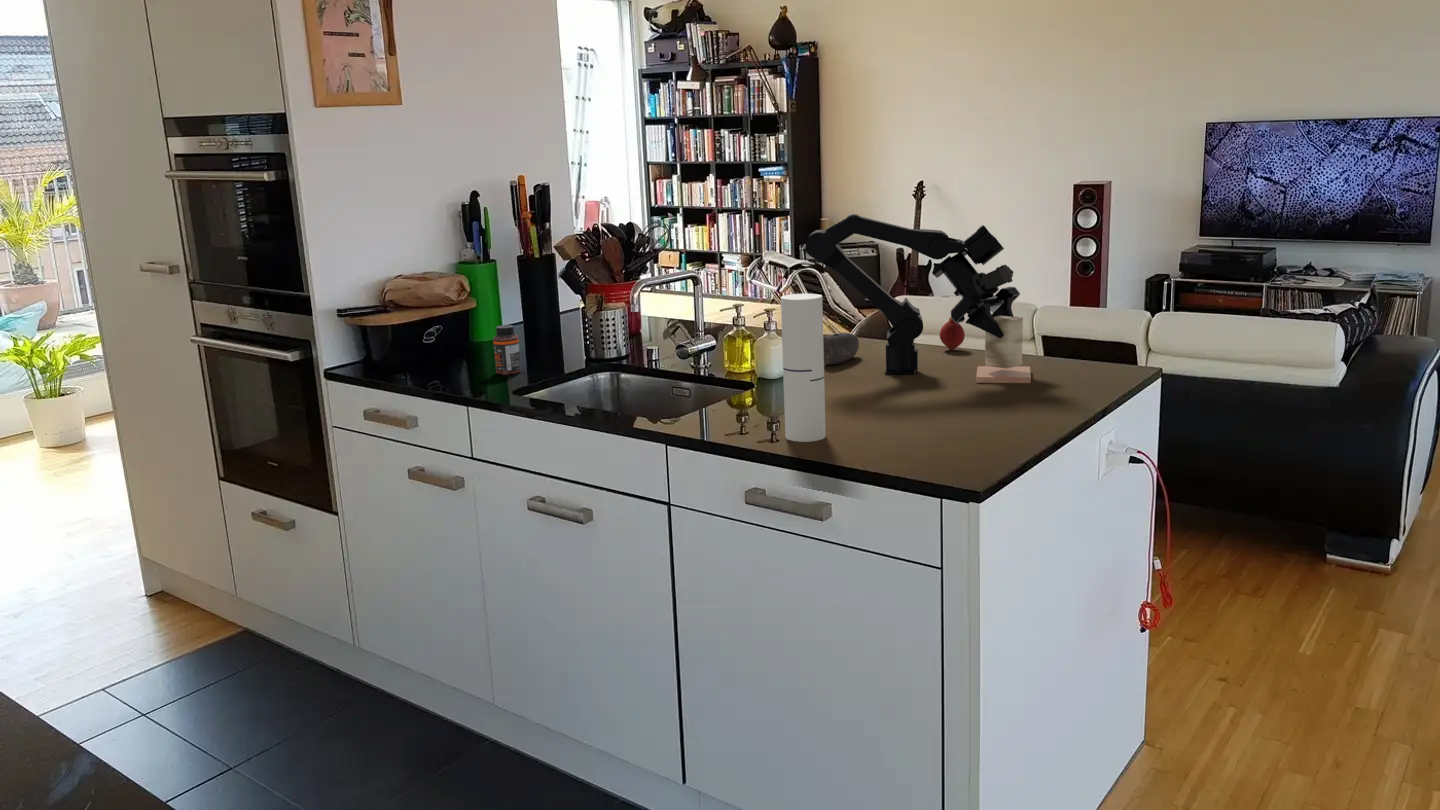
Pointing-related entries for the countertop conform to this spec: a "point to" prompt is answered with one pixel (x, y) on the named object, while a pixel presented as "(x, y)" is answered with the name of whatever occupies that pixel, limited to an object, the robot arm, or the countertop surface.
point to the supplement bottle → (506, 350)
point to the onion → (952, 334)
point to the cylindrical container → (803, 367)
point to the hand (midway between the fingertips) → (1009, 334)
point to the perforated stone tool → (839, 347)
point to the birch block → (1005, 343)
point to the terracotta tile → (1003, 374)
